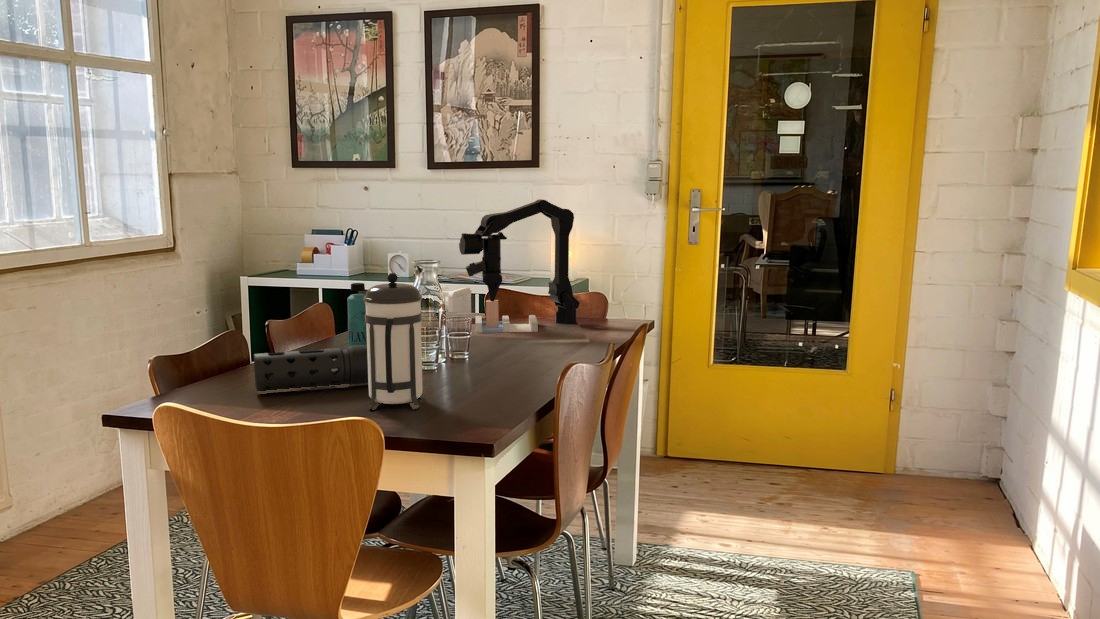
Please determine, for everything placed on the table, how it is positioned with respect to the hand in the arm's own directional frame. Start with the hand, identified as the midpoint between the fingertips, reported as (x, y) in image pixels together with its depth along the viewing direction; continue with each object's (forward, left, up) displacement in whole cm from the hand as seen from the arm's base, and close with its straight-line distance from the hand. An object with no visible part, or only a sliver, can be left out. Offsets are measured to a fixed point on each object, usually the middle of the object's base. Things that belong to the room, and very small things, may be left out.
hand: (492, 301), depth 281 cm
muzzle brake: (+44, +73, -10) cm, 86 cm away
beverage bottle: (+40, +27, -10) cm, 49 cm away
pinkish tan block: (0, 0, -9) cm, 9 cm away
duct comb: (-4, 0, -10) cm, 11 cm away
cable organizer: (+15, -21, -10) cm, 28 cm away
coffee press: (+23, +89, -10) cm, 92 cm away
